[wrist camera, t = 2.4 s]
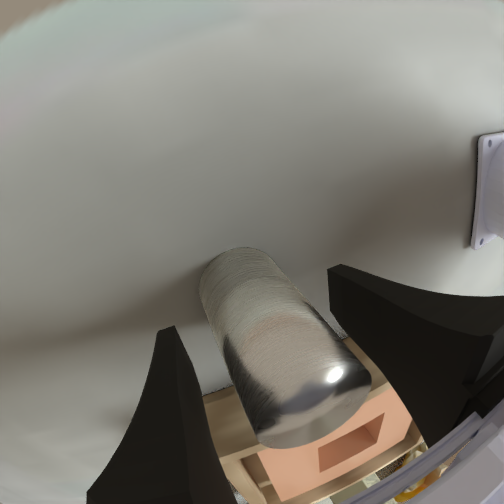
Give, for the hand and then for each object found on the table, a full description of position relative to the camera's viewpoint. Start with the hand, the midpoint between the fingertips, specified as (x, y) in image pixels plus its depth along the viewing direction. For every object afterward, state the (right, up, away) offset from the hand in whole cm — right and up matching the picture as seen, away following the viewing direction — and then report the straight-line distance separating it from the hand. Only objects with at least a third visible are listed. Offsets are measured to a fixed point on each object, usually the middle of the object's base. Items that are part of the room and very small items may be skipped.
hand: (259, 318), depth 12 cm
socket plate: (+6, -10, +10) cm, 15 cm away
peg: (-1, +1, +2) cm, 2 cm away
